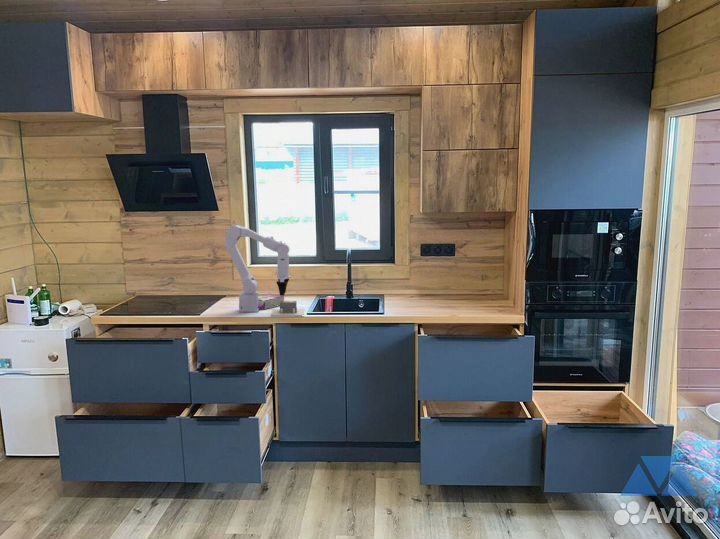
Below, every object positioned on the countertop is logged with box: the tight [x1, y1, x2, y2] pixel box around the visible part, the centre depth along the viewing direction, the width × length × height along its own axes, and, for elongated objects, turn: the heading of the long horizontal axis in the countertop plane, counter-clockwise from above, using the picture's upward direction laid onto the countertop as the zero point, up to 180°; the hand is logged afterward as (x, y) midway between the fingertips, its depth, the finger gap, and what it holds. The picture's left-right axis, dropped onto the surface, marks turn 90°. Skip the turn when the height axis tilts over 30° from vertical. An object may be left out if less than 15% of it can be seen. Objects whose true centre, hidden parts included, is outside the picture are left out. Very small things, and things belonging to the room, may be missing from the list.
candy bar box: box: [258, 293, 285, 310], centre depth 288 cm, size 11×5×16 cm
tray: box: [270, 308, 305, 317], centre depth 271 cm, size 16×14×3 cm
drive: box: [279, 300, 298, 313], centre depth 271 cm, size 8×4×5 cm, turn 95°
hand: (282, 294), depth 275 cm, fingers open, 7 cm apart
